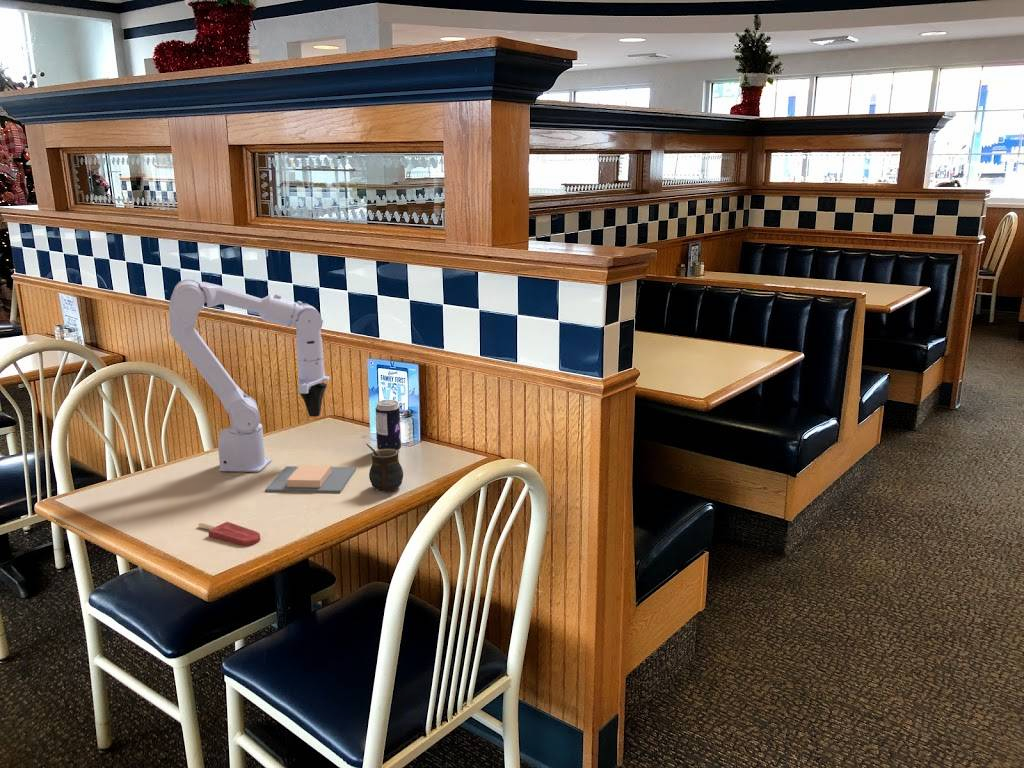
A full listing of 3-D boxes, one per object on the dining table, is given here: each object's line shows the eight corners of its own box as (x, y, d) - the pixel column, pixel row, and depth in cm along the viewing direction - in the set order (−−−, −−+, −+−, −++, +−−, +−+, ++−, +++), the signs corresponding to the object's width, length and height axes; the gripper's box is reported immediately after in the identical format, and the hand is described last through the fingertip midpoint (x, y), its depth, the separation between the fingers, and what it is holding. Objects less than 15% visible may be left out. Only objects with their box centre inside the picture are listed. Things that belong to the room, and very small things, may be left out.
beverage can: (399, 454, 194) (397, 406, 191) (375, 454, 194) (373, 406, 191) (402, 447, 200) (401, 399, 197) (379, 446, 200) (377, 399, 197)
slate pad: (265, 491, 172) (265, 489, 172) (286, 468, 186) (286, 466, 185) (340, 492, 171) (340, 490, 171) (356, 469, 185) (356, 467, 185)
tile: (300, 472, 181) (287, 487, 173) (300, 465, 181) (286, 479, 172) (331, 473, 181) (320, 488, 172) (331, 465, 180) (319, 480, 172)
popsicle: (208, 515, 157) (265, 532, 150) (209, 523, 157) (266, 541, 150) (189, 524, 153) (246, 542, 146) (189, 532, 153) (247, 551, 146)
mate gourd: (403, 494, 170) (400, 448, 168) (366, 495, 170) (363, 450, 167) (405, 481, 177) (403, 437, 175) (370, 482, 177) (367, 438, 174)
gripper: (318, 365, 179) (323, 425, 182) (336, 351, 193) (339, 407, 196) (287, 365, 179) (291, 424, 183) (306, 351, 193) (310, 406, 197)
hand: (314, 415), depth 189 cm, fingers closed
